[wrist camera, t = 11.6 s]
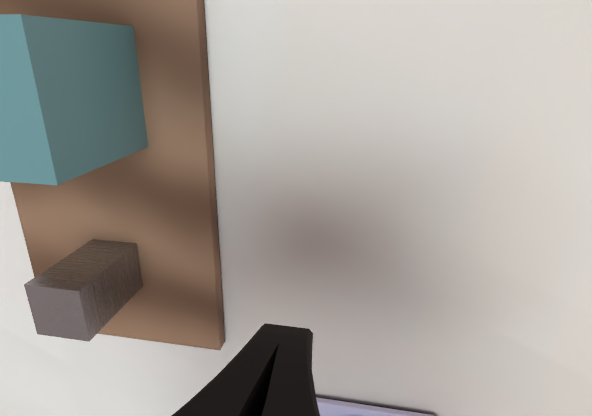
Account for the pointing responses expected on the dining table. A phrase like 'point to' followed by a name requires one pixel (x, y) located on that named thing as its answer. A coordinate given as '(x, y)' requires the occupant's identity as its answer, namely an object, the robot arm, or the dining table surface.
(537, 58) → the dining table surface
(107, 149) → the teal foam cube
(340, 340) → the dining table surface
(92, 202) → the base board
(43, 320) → the steel post
